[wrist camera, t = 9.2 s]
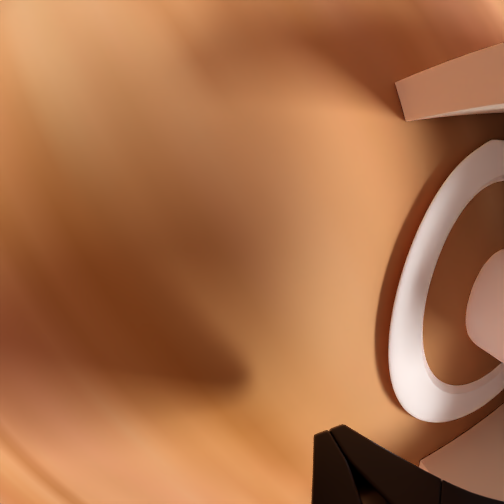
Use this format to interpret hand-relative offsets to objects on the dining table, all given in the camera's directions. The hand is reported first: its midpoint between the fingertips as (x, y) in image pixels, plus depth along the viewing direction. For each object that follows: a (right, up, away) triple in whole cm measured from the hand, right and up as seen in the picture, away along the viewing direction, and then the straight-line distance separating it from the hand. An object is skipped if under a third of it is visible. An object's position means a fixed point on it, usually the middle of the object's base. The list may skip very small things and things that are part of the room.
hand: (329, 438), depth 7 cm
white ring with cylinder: (+8, +3, +3) cm, 9 cm away
